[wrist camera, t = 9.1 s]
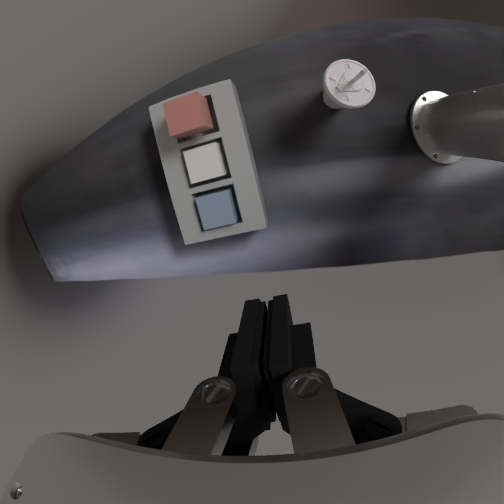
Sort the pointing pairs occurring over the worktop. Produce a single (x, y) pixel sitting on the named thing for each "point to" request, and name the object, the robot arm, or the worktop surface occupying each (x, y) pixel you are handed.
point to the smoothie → (347, 85)
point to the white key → (206, 162)
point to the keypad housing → (240, 177)
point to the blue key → (218, 208)
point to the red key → (188, 115)
